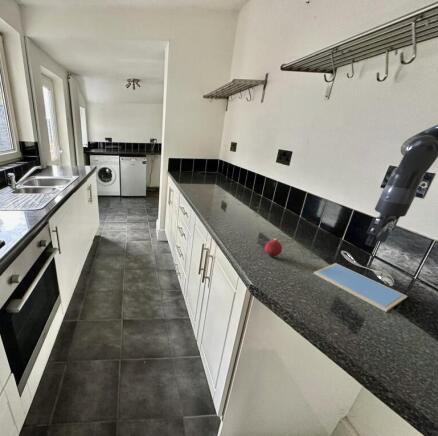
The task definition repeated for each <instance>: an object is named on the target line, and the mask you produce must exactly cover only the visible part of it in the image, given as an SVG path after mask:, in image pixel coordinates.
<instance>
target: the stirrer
mask: <svg viewBox="0 0 438 436" xmlns="http://www.w3.org/2000/svg"><path fill="white" fill-rule="evenodd" d="M340 254H341V256H342V257H343V258H344V259H345V260H347V261H348V262H349V263H351V264H352V265H354V266H356V267H359V268H361V269H366V270H369V271H371V272H373V273H374V274H375V275H376V277H378V278H379V279H380V280H381V281H382V282H383V283H384V284H385V286H387V287H393V286H394V285H395V279H394V277H393V276H392V275H391V274H389V273H387V272H384V271H382V270H377V269H372V268H369V267H366V266H363V265H361V264H360V263H359V262H357V260H356V259H355V258H354V257H353V256H352V255H351V254H350V253H349V252H348V251H345V250H341V251H340Z"/></svg>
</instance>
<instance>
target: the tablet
mask: <svg viewBox="0 0 438 436" xmlns="http://www.w3.org/2000/svg"><path fill="white" fill-rule="evenodd" d="M313 275H315V276H317V277H318V278H321V279H322V280H325V281H327V282H328V283H330V284H332V285H334V286H336V287H338V288H339V289H342V290H343V291H345V292H347V293H349V294H351V295H353V296H355V297H357V298H358V299H360V300H362V301H364V302H366V303H368V304H370V305H372V306H374V307H376V308H378V309H379V310H381V311H383V312H385V313H388V312H389V311H391V310H392V309H393V308H394V307H396V306H398V305H400V304H401V303H402V302H404V301H405V300H407V299H408V295H407V294H404V293H402V292H400V291H397V290H395V289H393V288H391V287H390V286H388V285H386V284H385V285H384V284H382V283H381V282H378V281H377V280H376V281H375V280H373V279H372V278H369V277H367V276H365V275H363V274H361V273H358V272H356V271H355V270H352V269H350V268H347V267H345V266H343V265H341V264H339V263H337V262H335V263H332V264H330V265H327V266H325V267H323V268H319V269H318V270H315V271H313Z"/></svg>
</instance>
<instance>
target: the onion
mask: <svg viewBox="0 0 438 436" xmlns="http://www.w3.org/2000/svg"><path fill="white" fill-rule="evenodd" d="M282 250H283V247H282V245H281V243H280V242H279V239H278V238H274V239H273V240H269V241H267V243H266V244H265V246H264V252H265V253H266V254H267V256H269V257H271V258H273V257H277V256H279V255H281V253H282Z"/></svg>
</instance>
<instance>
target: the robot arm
mask: <svg viewBox="0 0 438 436" xmlns="http://www.w3.org/2000/svg"><path fill="white" fill-rule="evenodd" d="M399 150H400V153H401V155H402V158H401V160H400V162H399V164H398V166H397V167H395V168H394V169H393V170H392V172H391V174H390V176H389V178H388V180H387V183H386V185H385V186H384V188H383V190H382V191H381V194H380V196H379V198H378V200H377V203H376V205H375V207H374V210H375V212H377V213H379V215H378V216H376V217H373V218H372V220H371V223H370V225H369V227H368V228H367V231H366V234H367V238H366V240H365V243H364V244H365V246H368V247H374V246H375V244H376V242H377V241H378V242H381V243H385V242H386V241H387V238H388V236H389V235H390V234H391V233H392V231H394V230H395V229H396V226H397V224H398V222H399V221H400V218H403V217H405V216H406V215H407V213H408V212H409V210H410V208H411V205H412V204H413V201H414V199H415V198H416V196H417V191H418V190H419V187H420V186H421V183H422V182H423V179H424V177H425V174H426V173H427V172H428V171H429V169H430V168H431V167H432V166H433V165H434V163H435V162H436V160H437V159H438V124H435V125H433V126H431V127H429V128H427V129H425V130H422V131H421V132H418V133H416V134H414V135H412V136H411V137H409V138H408V139H406V140H405V141H404V142H403V143H402V144H401V146H400V149H399Z"/></svg>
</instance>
